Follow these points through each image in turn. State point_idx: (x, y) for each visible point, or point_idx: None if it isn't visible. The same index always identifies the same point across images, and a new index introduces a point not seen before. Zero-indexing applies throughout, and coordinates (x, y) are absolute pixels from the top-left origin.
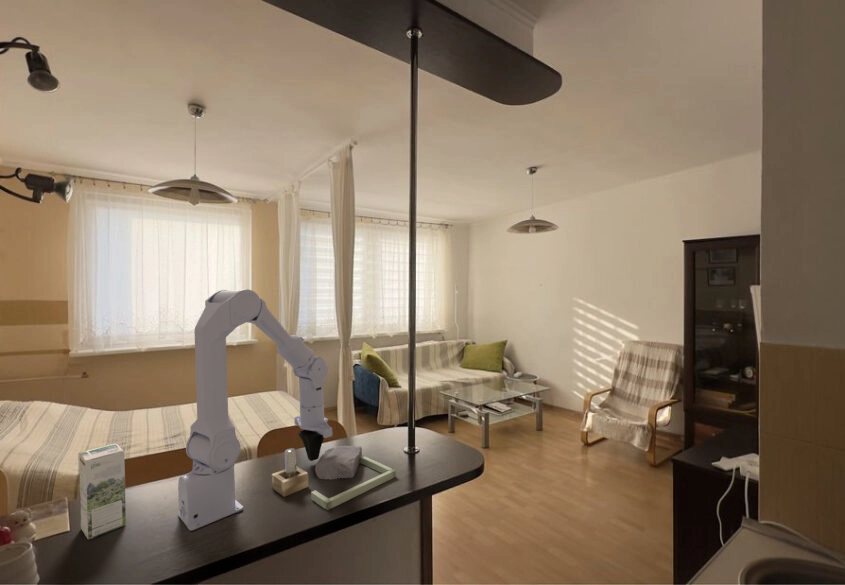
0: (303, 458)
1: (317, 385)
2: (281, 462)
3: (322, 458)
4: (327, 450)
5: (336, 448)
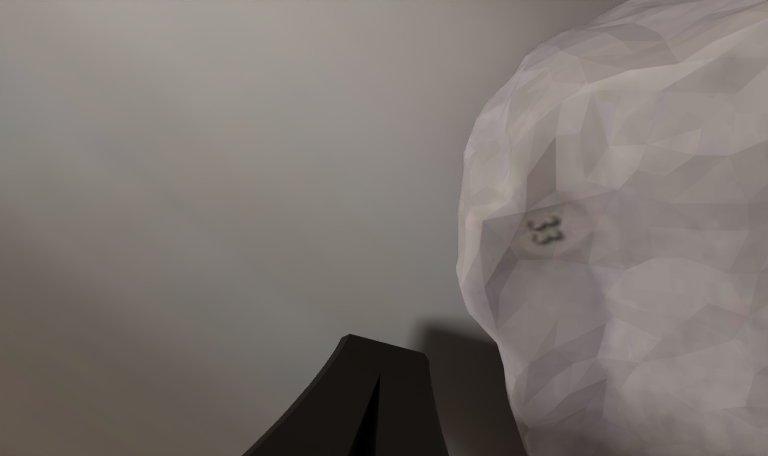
0: (121, 275)
1: None
2: (23, 435)
3: (570, 439)
4: (490, 272)
5: (701, 213)
